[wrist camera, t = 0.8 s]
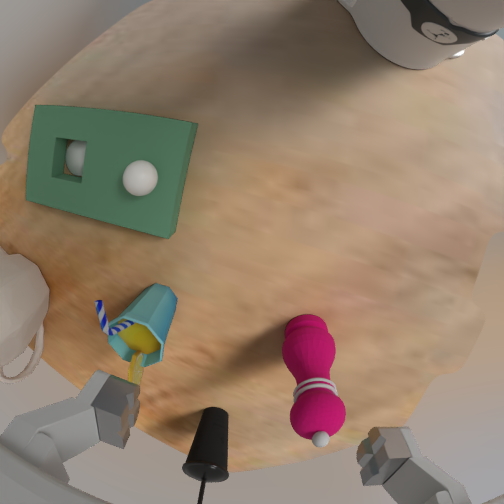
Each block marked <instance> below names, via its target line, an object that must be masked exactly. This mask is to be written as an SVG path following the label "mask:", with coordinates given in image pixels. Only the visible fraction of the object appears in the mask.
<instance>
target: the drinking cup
mask: <svg viewBox="0 0 504 504" xmlns="http://www.w3.org/2000/svg"><path fill="white" fill-rule="evenodd" d="M227 459H228V413H227V412H226V411H225V410H223V409H221V408H217V407H209V408H207V409H205V410H204V412H203V415H202V417H201V420H200V423H199V426H198V429H197V432H196V434H195V437H194V440H193V443H192V446H191V449H190V451H189V454H188V457H187V460H186V463H184V464H183V467H182V469H183V472H184V473H185V474H187V475H188V476H190V477H192V478H194V479H196V480H199V481H202V482H201V487H200V492H199V498H198V503H197V504H202V500H203V494H204V489H205V483H206V482H221V481H224V480H226V479H227V478H228V477H229V473H228V471H227Z"/></svg>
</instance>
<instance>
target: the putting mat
mask: <svg viewBox="0 0 504 504" xmlns="http://www.w3.org/2000/svg"><path fill="white" fill-rule="evenodd" d="M197 126H198V124H197V123H192V122H187V121H182V120H176V119H170V118H164V117H158V116H152V115H145V114H138V113H131V112H123V111H115V110H106V109H96V108H85V107H72V106H55V105H35V110H34V116H33V122H32V129H31V136H30V144H29V153H28V165H27V180H26V200H28V201H31V202H35V203H38V204H42V205H46V206H49V207H53V208H56V209H60V210H64V211H67V212H71V213H74V214H78V215H82V216H85V217H89V218H93V219H96V220H100V221H104V222H107V223H111V224H115V225H118V226H122V227H126V228H129V229H133V230H137V231H140V232H144V233H148V234H152V235H155V236H159V237H163V238H167V239H169V238H170V237H171V236H172V235H173V233H174V232H175V231H176V225H177V220H178V214H179V209H180V204H181V199H182V194H183V189H184V184H185V179H186V174H187V170H188V165H189V160H190V156H191V152H192V147H193V143H194V139H195V135H196V130H197ZM68 139H73V140H75V141H73V142H72V143H71V144H70V145H69V147H68V148H67V141H68ZM66 148H67V151H66ZM65 156H66V157H65ZM65 160H66V165H67V167H68V169H69V171H70V172H71V173H72V174H74V175H76V176H73V175H68V174H64V165H65ZM138 160H144V161H148V162H150V163H151V164H152V165H153V166H154V167H155V168H156V170H157V174H158V181H157V184H156V186H155V188H154V189H153V190H152V191H151V192H150V193H149V194H147V195H144V196H135V195H132V194H131V193H129V192H128V191H127V190H126V188H125V187H124V184H123V174H124V171H125V169H126V168H127V166H128V165H130V164H131V163H132V162H135V161H138ZM78 176H82V177H78Z"/></svg>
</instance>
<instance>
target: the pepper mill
mask: <svg viewBox="0 0 504 504" xmlns="http://www.w3.org/2000/svg"><path fill="white" fill-rule="evenodd" d="M335 351H336V349H335V342H334V339H333V337H332V336H331V335H330V334H329V333H328V329H327V326H326V323H325V322H324V321H323V320H322V319H321V318H320V317H318V316H315V315H310V314H309V315H301V316H298V317H296V318H294V319H293V320H291V321H290V322H289V323H288V325H287V327H286V329H285V341H284V343H283V347H282V353H283V359H284V362H285V364H286V366H287V368H288V369H289V371H290V372H291V373H292V374H293V376H294V377H295V379H296V382H297V387H296V388H295V390H294V392H293V396H294V405H293V406H292V408H291V411H290V422H291V425H292V427H293V429H294V430H295V432H296V433H297V434H298V435H300V436H301V437H303V438H306V439H310V440H312V442H313V444H314V445H315V446H316V447H324V446H326V445H327V444H328V442H329V439H330V438H329V437H330V436H332V435H334V434H335V433H336V432H338V431H339V429H340V428H341V427H342V425H343V423H344V421H345V415H346V412H345V406H344V403H343V401H342V400H341V399H340V398H339V397H338V394H337V391H336V386H335V384H334V383H333V382H332V381H331V380H330V373H329V372H330V368H331V366H332V363H333V361H334V358H335Z"/></svg>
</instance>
